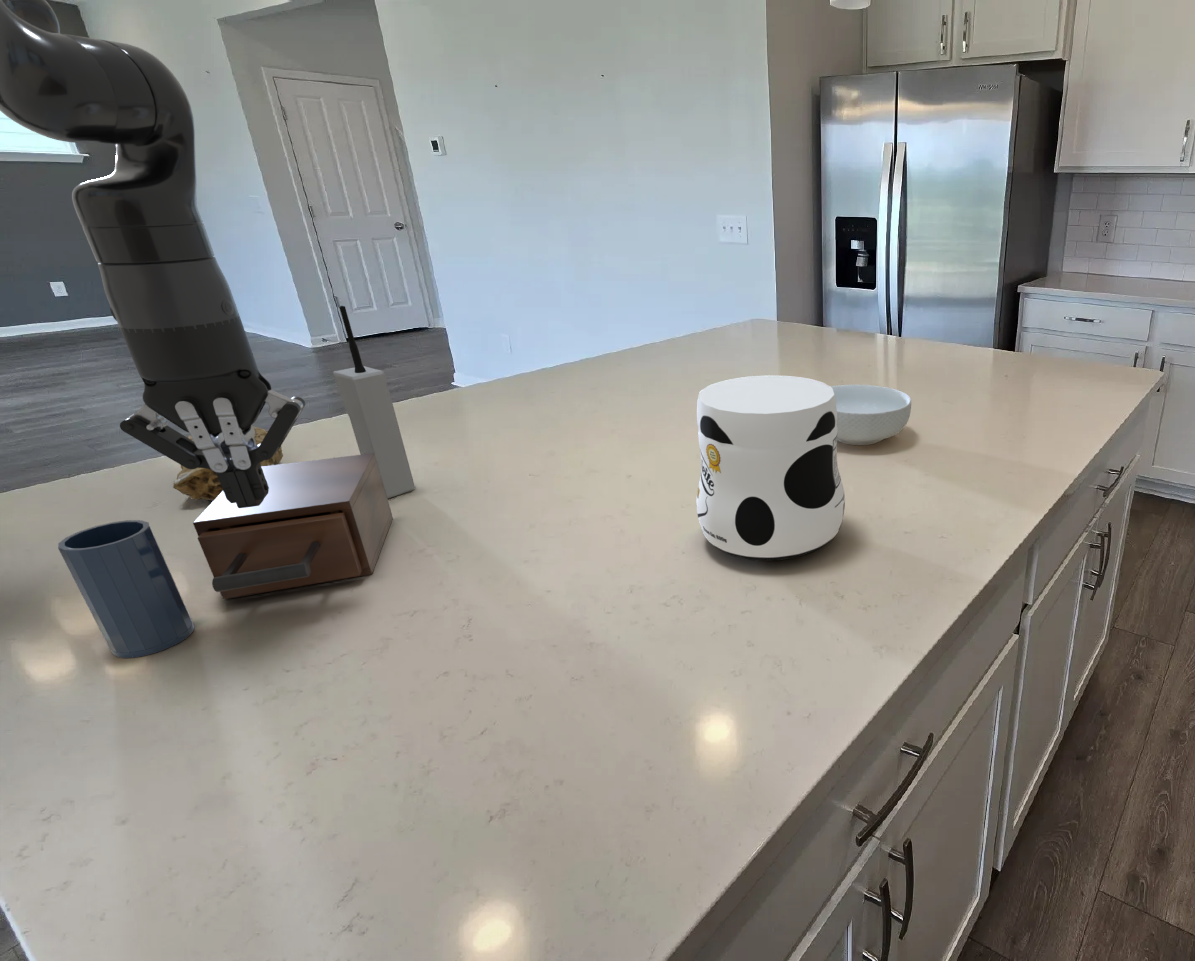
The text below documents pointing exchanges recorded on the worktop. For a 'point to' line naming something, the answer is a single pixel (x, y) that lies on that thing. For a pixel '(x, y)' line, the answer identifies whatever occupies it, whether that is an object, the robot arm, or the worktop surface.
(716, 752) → the worktop surface
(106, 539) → the utensil crock
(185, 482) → the sponge
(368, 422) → the vintage mobile phone
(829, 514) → the milk container
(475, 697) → the worktop surface
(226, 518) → the cabinet
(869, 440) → the cereal bowl
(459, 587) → the worktop surface
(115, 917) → the worktop surface
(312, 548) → the drawer
